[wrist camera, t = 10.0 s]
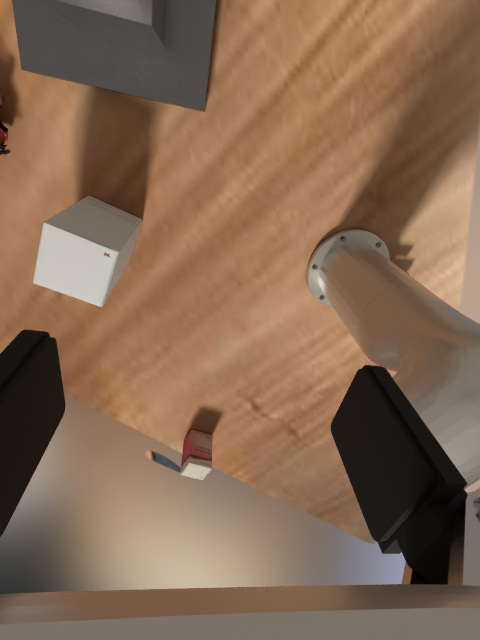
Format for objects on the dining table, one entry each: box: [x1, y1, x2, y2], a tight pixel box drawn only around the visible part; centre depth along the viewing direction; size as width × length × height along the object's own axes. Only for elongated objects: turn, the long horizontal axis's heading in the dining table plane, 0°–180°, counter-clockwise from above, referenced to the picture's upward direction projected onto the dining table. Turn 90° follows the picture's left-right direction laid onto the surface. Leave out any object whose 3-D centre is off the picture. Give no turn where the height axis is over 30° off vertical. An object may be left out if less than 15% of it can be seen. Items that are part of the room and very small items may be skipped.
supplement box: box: [33, 196, 143, 307], centre depth 37 cm, size 7×7×13 cm
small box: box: [180, 430, 212, 480], centre depth 63 cm, size 5×4×8 cm
